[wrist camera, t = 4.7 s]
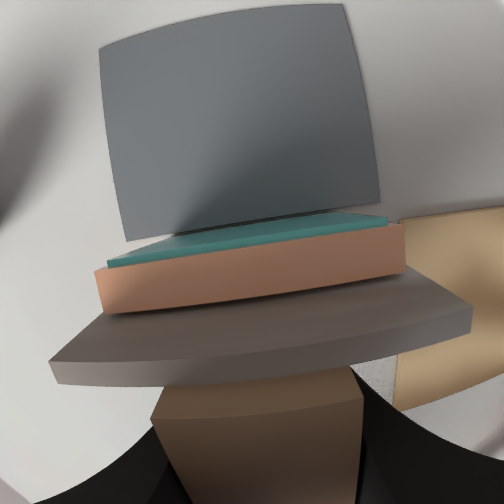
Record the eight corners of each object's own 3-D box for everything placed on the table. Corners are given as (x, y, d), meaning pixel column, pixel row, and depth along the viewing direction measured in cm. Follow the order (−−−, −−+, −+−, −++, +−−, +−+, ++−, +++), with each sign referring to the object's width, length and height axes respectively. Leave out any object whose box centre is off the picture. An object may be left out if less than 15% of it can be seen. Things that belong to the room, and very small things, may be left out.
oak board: (522, 357, 16) (526, 361, 16) (392, 407, 17) (394, 413, 16) (544, 200, 13) (550, 201, 13) (399, 219, 14) (404, 222, 13)
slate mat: (379, 201, 14) (380, 201, 14) (128, 240, 15) (126, 241, 14) (340, 5, 11) (341, 4, 11) (100, 50, 12) (98, 48, 12)
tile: (342, 241, 14) (406, 271, 7) (172, 266, 15) (104, 314, 8) (338, 210, 14) (401, 216, 7) (167, 237, 15) (92, 263, 8)
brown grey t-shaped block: (386, 388, 11) (445, 498, 5) (168, 415, 12) (125, 530, 6) (387, 253, 10) (501, 325, 4) (127, 291, 10) (24, 383, 5)
